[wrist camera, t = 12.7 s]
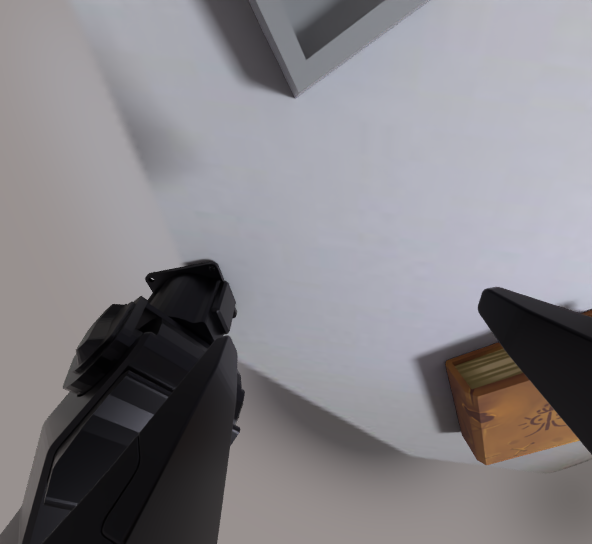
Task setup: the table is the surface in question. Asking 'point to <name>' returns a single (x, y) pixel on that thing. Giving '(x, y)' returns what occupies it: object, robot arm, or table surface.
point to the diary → (502, 407)
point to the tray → (324, 32)
